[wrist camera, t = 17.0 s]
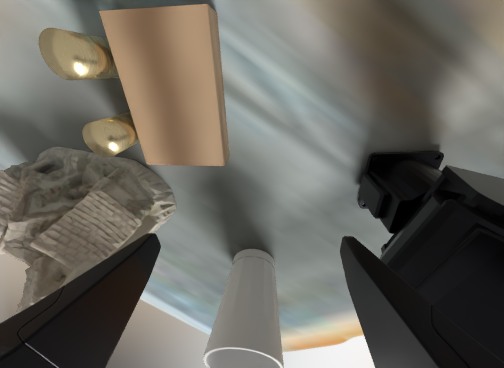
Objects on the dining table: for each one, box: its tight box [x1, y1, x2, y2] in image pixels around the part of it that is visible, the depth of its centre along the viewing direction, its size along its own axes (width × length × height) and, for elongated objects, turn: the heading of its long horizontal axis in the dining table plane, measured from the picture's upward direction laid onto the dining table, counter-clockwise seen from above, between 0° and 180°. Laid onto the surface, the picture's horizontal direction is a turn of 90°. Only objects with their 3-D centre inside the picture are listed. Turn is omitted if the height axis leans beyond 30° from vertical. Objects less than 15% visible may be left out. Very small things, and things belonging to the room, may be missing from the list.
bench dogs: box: [39, 28, 140, 157], centre depth 17 cm, size 3×9×5 cm, turn 4°
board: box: [99, 4, 229, 166], centre depth 18 cm, size 8×12×3 cm, turn 2°
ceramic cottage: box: [0, 146, 176, 314], centre depth 20 cm, size 16×16×15 cm
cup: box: [203, 249, 284, 368], centre depth 25 cm, size 8×8×12 cm
